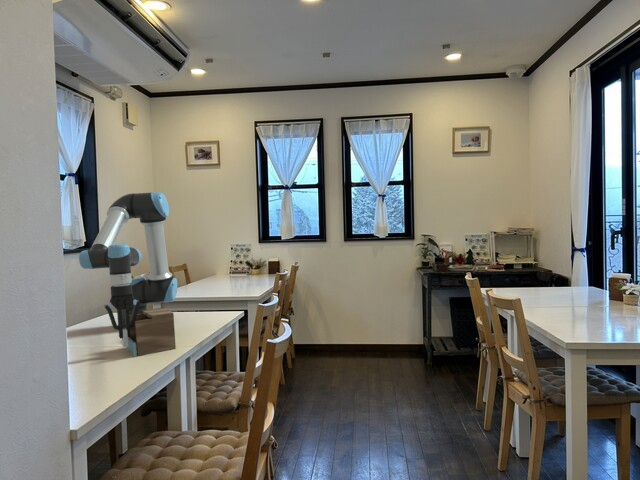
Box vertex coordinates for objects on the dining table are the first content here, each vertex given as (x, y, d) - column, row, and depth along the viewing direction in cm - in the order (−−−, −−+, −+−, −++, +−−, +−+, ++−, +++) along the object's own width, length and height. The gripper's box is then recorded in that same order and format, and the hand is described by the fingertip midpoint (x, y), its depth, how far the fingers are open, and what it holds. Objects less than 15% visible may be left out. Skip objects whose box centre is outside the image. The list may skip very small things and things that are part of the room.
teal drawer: (126, 348, 181) (125, 336, 180) (160, 342, 188) (159, 330, 188) (134, 356, 169) (133, 343, 169) (170, 349, 177) (169, 336, 177)
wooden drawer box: (129, 348, 182) (126, 312, 181) (164, 341, 190) (162, 307, 189) (138, 356, 169) (135, 318, 169) (175, 348, 177) (173, 312, 177)
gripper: (104, 287, 166) (108, 351, 167) (141, 283, 173) (145, 344, 175) (100, 286, 172) (105, 347, 173) (136, 281, 180) (140, 340, 181)
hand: (125, 346), depth 174 cm, fingers closed
